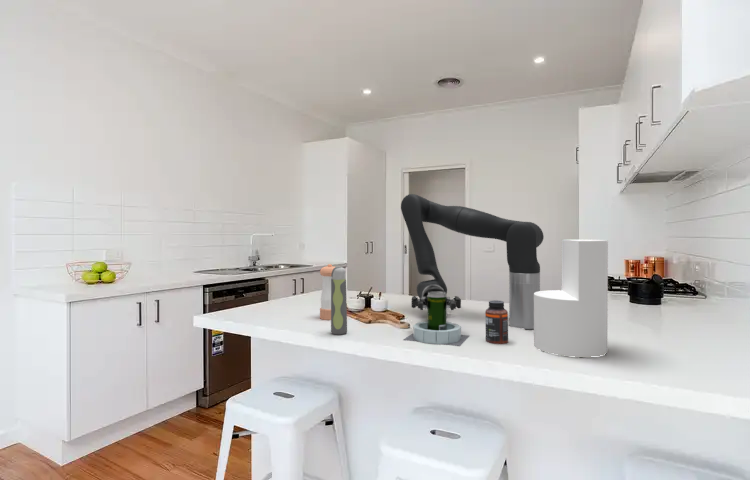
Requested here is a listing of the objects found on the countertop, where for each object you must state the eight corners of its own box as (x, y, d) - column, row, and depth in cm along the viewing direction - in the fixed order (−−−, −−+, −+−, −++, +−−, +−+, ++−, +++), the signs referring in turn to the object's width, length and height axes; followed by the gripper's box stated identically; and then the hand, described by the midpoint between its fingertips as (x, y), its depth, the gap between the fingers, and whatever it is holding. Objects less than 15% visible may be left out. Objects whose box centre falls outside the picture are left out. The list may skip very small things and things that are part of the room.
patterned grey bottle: (346, 335, 124) (345, 267, 123) (329, 335, 124) (329, 267, 123) (348, 331, 128) (347, 266, 128) (332, 331, 129) (331, 266, 128)
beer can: (450, 334, 118) (450, 292, 118) (437, 338, 115) (437, 294, 114) (436, 331, 122) (436, 290, 122) (423, 334, 119) (423, 292, 119)
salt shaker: (315, 318, 148) (315, 264, 148) (330, 315, 154) (330, 262, 153) (329, 321, 143) (329, 265, 143) (344, 317, 149) (344, 263, 148)
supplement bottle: (508, 340, 116) (508, 300, 116) (507, 346, 110) (507, 303, 110) (486, 339, 118) (486, 299, 118) (484, 344, 112) (484, 302, 112)
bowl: (465, 334, 121) (465, 323, 121) (453, 346, 110) (453, 333, 110) (422, 330, 127) (422, 319, 127) (407, 340, 115) (407, 329, 115)
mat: (469, 336, 120) (469, 335, 120) (459, 347, 110) (459, 346, 110) (417, 331, 127) (417, 330, 127) (402, 341, 116) (402, 339, 116)
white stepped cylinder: (595, 340, 115) (595, 239, 114) (618, 360, 98) (618, 241, 98) (529, 338, 119) (529, 239, 118) (540, 356, 102) (540, 241, 101)
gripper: (411, 285, 133) (411, 293, 117) (456, 285, 132) (463, 293, 115) (411, 308, 133) (411, 319, 117) (456, 309, 132) (463, 320, 116)
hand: (437, 306), depth 116 cm, fingers open, 8 cm apart
